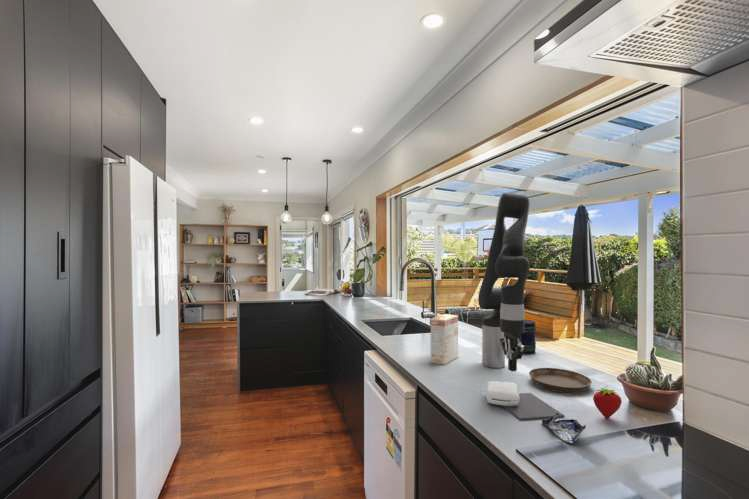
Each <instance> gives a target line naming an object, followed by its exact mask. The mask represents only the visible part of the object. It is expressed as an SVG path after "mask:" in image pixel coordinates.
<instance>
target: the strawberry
mask: <svg viewBox="0 0 749 499" xmlns="http://www.w3.org/2000/svg"><path fill="white" fill-rule="evenodd" d="M606 387H608V384H606ZM615 391H616V390H615V389H609V388H605V387H604V388H603V387H600V389H596V392H595V393H594V394H593V397H592V400H593V403H594V405H595V407H596V408H597V409H598V412H600V414H601V415H602V416H603V417H604V418H605V419H609V418H611V417H612V416H613V415H614V414H615V413H616V412H617V411H619V409H620V408H621V406H622V398H621V397H620V395H619V394H618V393H617V392H615Z"/></svg>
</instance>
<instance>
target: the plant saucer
mask: <svg viewBox="0 0 749 499" xmlns="http://www.w3.org/2000/svg"><path fill="white" fill-rule="evenodd" d="M528 374H529V377H530V378H531V380H532V381H533V382H534V383H535V384H536V385H537V386H539V387H541V388H543V389H546V390H549V391H553V392H556V393H566V394H576V393H577V394H578V393H582V392H584V391H586V390H588V388H590V386H591V385H592V379H590V378H589V377H588V376H586V375H584V374H582V373H579V372H576V371H572V370H567V369H564V368H563V369H562V368H555V367H537V368H534V369H531V370H529V371H528Z"/></svg>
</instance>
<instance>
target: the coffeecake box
mask: <svg viewBox="0 0 749 499" xmlns="http://www.w3.org/2000/svg"><path fill="white" fill-rule="evenodd" d="M457 358H459V315H458V314H457V315H456V314H449V313H444V314H441V315H438V316H435V317H431V318H430V363H432V364H438V365H443V366H445V365H447V364H449V363H450V362H452V361H454V360H455V359H457Z"/></svg>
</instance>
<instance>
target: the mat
mask: <svg viewBox="0 0 749 499" xmlns="http://www.w3.org/2000/svg"><path fill="white" fill-rule="evenodd" d="M519 397H520V401H519V403H518V406H502V407H504V409H506V410H507V411H508V412H509V413H511V415H513V416H514V417H516V419H518V420H519V421H529V420H530V421H531V420H542V419H543V420H547V419H551V418H552V417H553V416H554V415H555V414H556V413H558V414H559V416H557V419H560V418H565V414H564V413H562V412H560V411H558V410H557V409H556V408H555V407H552V405H549V404H548V403H547V402H545V401H543V400H542V399H541V398H540V397H537V396H536V395H534V394H533V393H532V392H523V393H521V392H519ZM561 414H562V415H561Z"/></svg>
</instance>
